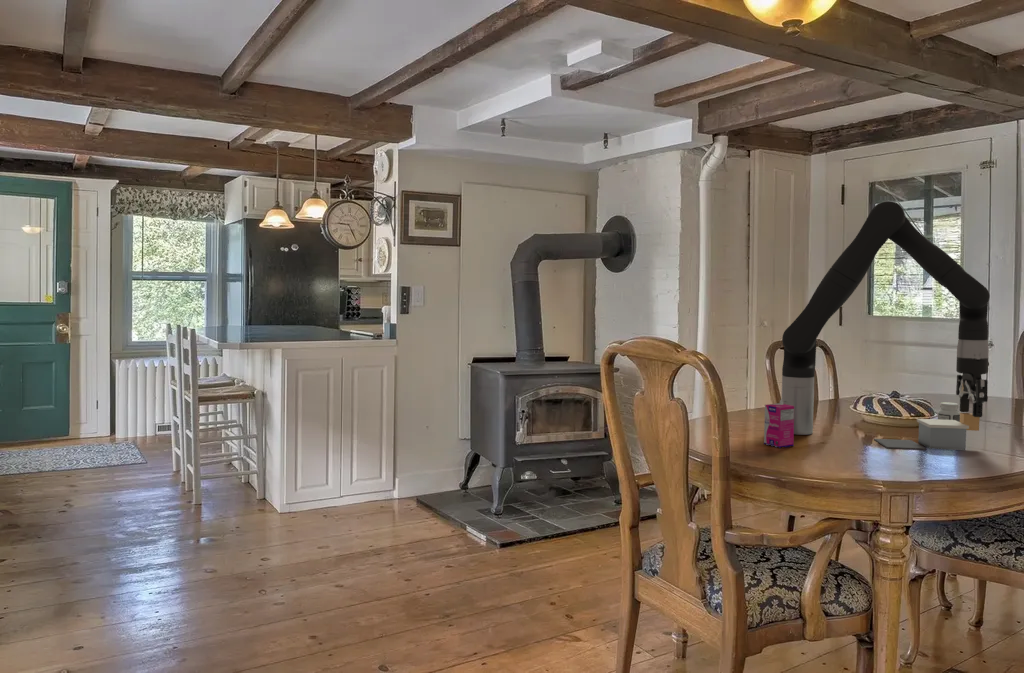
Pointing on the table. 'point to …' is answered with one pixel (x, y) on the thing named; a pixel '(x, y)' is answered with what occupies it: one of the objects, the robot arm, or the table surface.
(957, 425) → the lid
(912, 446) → the mat
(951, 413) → the pill bottle
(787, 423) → the supplement box
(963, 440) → the tub
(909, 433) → the table surface
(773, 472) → the table surface
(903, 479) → the table surface
